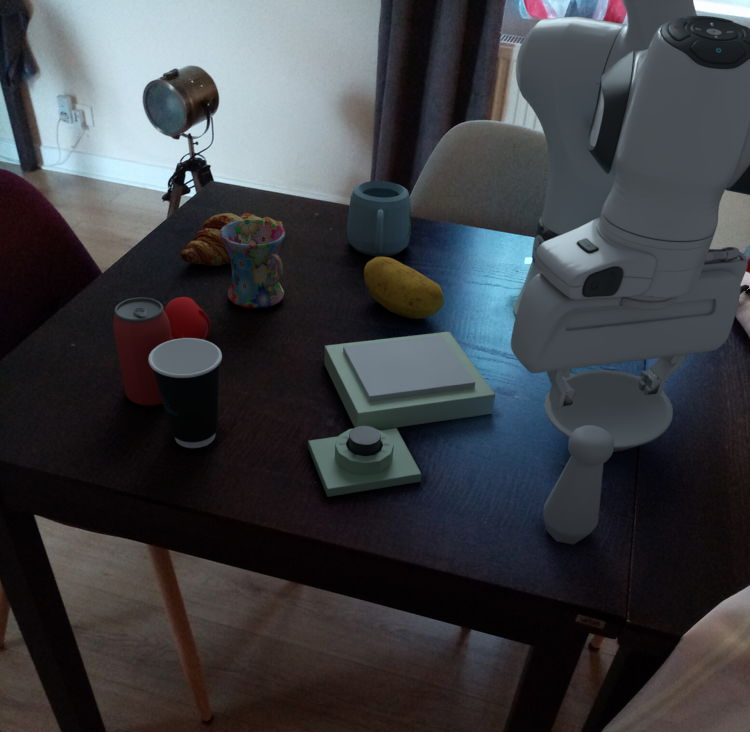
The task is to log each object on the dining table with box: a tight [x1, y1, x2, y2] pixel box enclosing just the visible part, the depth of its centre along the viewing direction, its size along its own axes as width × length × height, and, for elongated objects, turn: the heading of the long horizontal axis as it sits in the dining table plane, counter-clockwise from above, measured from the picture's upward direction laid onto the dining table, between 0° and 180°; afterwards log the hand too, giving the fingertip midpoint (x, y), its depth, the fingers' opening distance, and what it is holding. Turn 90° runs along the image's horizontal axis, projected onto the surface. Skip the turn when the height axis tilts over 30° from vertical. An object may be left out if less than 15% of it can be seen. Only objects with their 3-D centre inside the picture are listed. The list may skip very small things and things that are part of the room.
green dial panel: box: [307, 427, 422, 498], centre depth 90 cm, size 11×9×3 cm
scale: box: [324, 331, 496, 430], centre depth 102 cm, size 18×16×4 cm
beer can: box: [112, 297, 172, 407], centre depth 95 cm, size 7×7×12 cm
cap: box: [163, 296, 211, 341], centre depth 107 cm, size 8×6×6 cm
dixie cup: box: [148, 338, 223, 449], centre depth 90 cm, size 8×8×11 cm
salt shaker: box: [542, 425, 614, 545], centre depth 80 cm, size 6×6×13 cm
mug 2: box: [346, 180, 412, 257], centre depth 131 cm, size 15×11×10 cm
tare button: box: [349, 426, 381, 456], centre depth 89 cm, size 4×4×2 cm
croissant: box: [180, 212, 284, 267], centre depth 130 cm, size 21×10×8 cm, turn 139°
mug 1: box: [220, 219, 286, 310], centre depth 115 cm, size 12×9×11 cm
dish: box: [544, 369, 674, 452], centre depth 95 cm, size 18×14×5 cm
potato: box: [363, 256, 444, 320], centre depth 117 cm, size 7×14×7 cm, turn 39°
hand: (604, 397), depth 73 cm, fingers open, 8 cm apart
